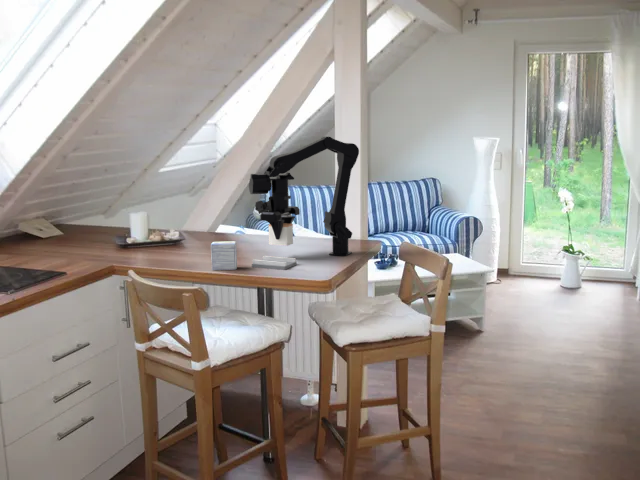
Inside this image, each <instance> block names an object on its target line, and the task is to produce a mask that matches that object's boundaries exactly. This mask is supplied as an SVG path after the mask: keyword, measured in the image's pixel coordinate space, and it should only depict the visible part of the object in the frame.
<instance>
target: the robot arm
mask: <svg viewBox="0 0 640 480" xmlns="http://www.w3.org/2000/svg"><path fill="white" fill-rule="evenodd" d="M325 150H328V151H330V152H333V153H335V154H336V160H337V166H338V170H337V176H336V181H335V187H334V192H333V198H332V204H331V207H330V210H329V211H325V212H324V219H323V221H322V223H324V228H325V229H326V231H328V233H329V236H331V237H332V239H331V240H332V241H331V243H332V251H331V252H329V253H328V255H329V256H341V257H347V256H349V255H351V254H352V253H353V252H352V251H349V240H350V239H352V236H353V232H352V231H351V230H350V229H349V228H348V227H347V216H346V203H347V197H348V192H349V186H350V180H351V175H352V170H353V168H354V166H355V164H356V163H357V160H358V157H359V154H360V149H359V147H358V146H357V145H356V144H355V143H352V142H344V141H341V140H337V139H335V138H333V137H331V136H322V137H321V138H320V139H318V140H315V141H313V142H311V143H309V144H307V145H304V146H303V147H301V148H298V149H296V150H294V151H291V152H286V153H282V154H278V155H275V156H273V157H272V158H270V160H269V166H268V167H267V168H266V169H265V172H263V173H261V174H259V173H257V174H256V173H251V174H250V178H249V183H248V188H249V189H248V190H249V194H250V195H266V194H269V192H270V191H271V196H269V197H268V200H267V201H265V202H264V201H262V200H258V201H255V207H254V210H255V211H257V212H258V215H259V218H260V221H262V222H263V221H264V222H267V223H269V224H271V226H272V229H273V231H274V234H275V237H276V239H280V235H281V232H282V228H283V224H284V223H289V224H293V221H294V220H295V218H296V216H298V215H300V214H301V213H300V212H301V211H300V208H299V206H295V205H294V206H293V205H289V203H290V201H289V200H290V199H292V196H291V195H289V181H291V180H292V181H293V180H295V177H294V176H293V175H292V174H291V173H290V172H289V171H291V170H292V169H293V168H294V167H296V166H297V164H299V163H300V162H303V161H305V160H306V159H309V158H311V157H313V156H315V155H317V154H319V153H322V152H323V151H325ZM293 215H295V216H293Z"/></svg>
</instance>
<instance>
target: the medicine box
mask: <svg viewBox="0 0 640 480" xmlns="http://www.w3.org/2000/svg"><path fill="white" fill-rule="evenodd" d="M237 249H238V248H237V241H233V240H232V241H212V243H211V244H210V255H211V256H210V257H211V260H210V261H211V271H220V270H221V271H223V270H224V271H226V270H228V271H229V270H230V271H231V270H233V271H235V270H236V271H237V269H238V254H237V252H238V250H237Z"/></svg>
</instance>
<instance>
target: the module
mask: <svg viewBox="0 0 640 480" xmlns="http://www.w3.org/2000/svg"><path fill="white" fill-rule="evenodd" d="M293 224H294V223H292V224H289V223H284V224H283V228H282V232H281V235H280V239H276V237H275V234H274V231H273V229H272V226H271V224H270V223H269V224H268V245H270V246H285V247H286V246H287V247H288V246H291V245H293V244H294V236H293V235H294V231H293V230H294V229H293V228H294V226H293Z"/></svg>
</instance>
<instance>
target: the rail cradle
mask: <svg viewBox="0 0 640 480" xmlns="http://www.w3.org/2000/svg"><path fill="white" fill-rule="evenodd" d="M296 260H297V258H295V257H286V256H285V257H284V256H270V255H263V256H262V259H252V263H251V267H252V268H258V267H259V269H260V268H261V269H269V268H270V270H283V271H285V270H287V269H290V268H292V267H294V266H296V265H298V263H297V262H298V261H296Z"/></svg>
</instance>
